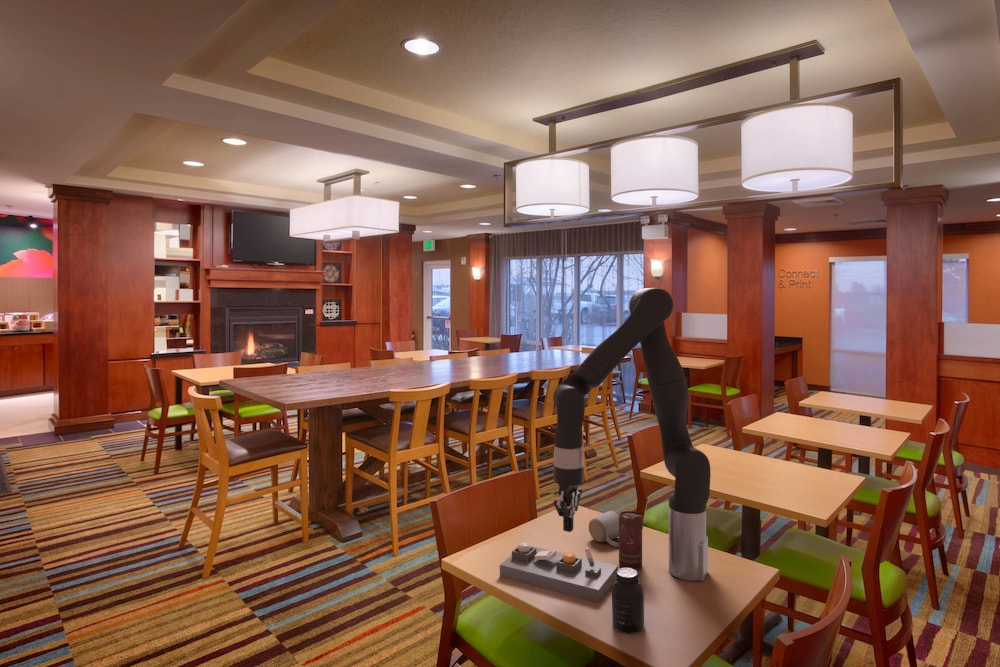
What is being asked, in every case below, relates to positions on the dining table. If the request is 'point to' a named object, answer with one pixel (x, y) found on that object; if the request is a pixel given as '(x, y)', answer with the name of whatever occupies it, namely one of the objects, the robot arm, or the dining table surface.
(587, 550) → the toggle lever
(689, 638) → the dining table surface
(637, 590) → the supplement bottle
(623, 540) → the can
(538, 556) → the rocker switch
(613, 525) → the ceramic mug
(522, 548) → the grey button
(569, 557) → the orange button
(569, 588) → the control panel
